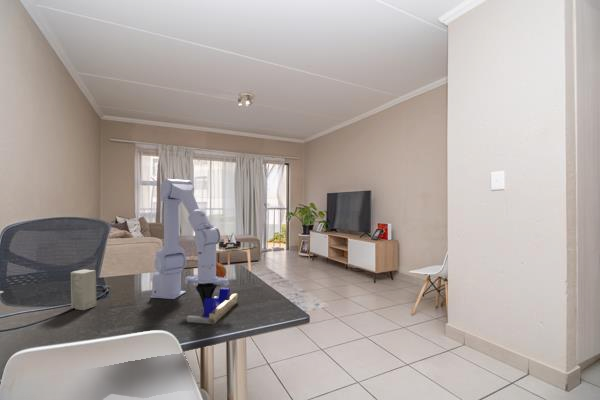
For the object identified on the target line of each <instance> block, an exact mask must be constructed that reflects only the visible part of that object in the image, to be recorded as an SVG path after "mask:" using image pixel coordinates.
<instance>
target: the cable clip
mask: <svg viewBox="0 0 600 400" xmlns="http://www.w3.org/2000/svg"><path fill="white" fill-rule="evenodd" d="M230 296H231V288H230V287H220V288H219V294H218V295H217V297H215V296H214V297H215V298H214V297H212V298H205V299H204V307H203V317H209V313H211V312H212V311H213V310H214V309H215V308H217V307H218V306H219V305H220V304H221V303H223V302H224V301H225V300H226V299H227V298H229V297H230Z"/></svg>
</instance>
